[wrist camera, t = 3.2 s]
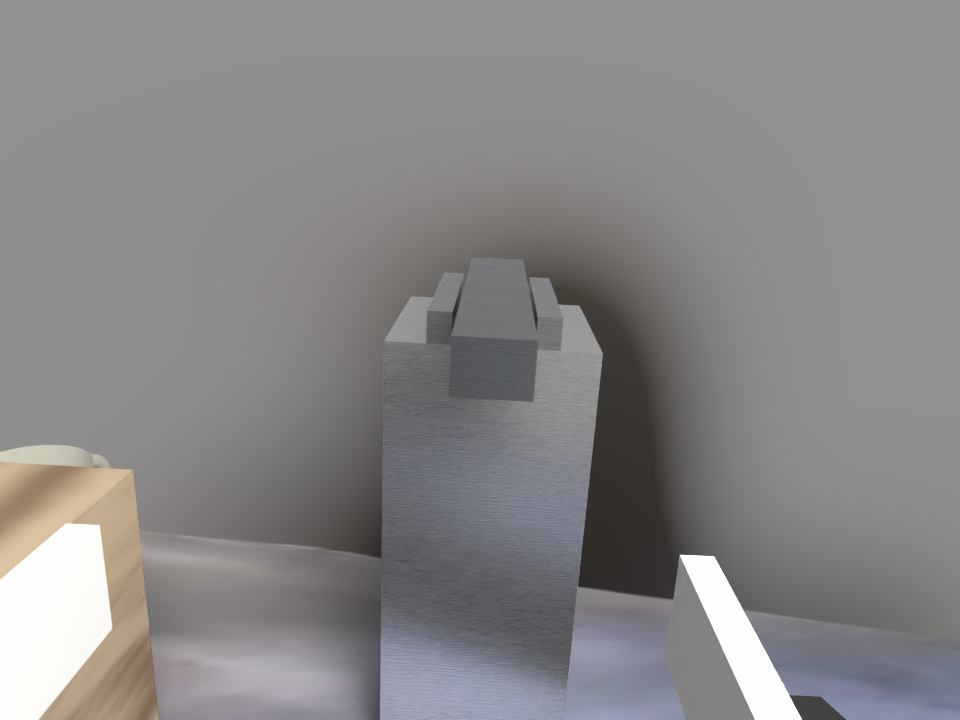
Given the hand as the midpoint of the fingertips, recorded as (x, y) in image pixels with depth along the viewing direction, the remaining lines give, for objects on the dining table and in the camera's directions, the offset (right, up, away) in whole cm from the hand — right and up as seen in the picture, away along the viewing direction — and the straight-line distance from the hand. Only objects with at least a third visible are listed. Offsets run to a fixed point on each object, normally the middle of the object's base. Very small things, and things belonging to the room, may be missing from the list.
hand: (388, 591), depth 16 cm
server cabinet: (+2, -21, +41) cm, 46 cm away
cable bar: (+3, +7, +28) cm, 29 cm away
